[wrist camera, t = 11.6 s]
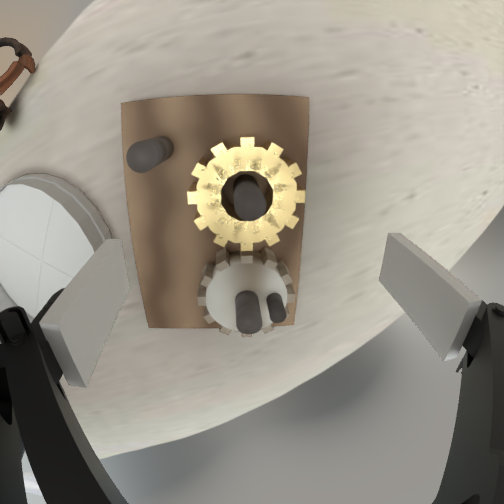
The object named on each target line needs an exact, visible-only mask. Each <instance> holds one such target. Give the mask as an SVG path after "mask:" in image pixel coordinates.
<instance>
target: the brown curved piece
mask: <svg viewBox="0 0 504 504" xmlns="http://www.w3.org/2000/svg"><path fill="white" fill-rule="evenodd" d="M2 46H11V47H13V48H14V49H15V55H16V56H18V57H19V61H15V62H13V63H12V64H11V66H10V67H9V69H8V70H7V71H6V72H5V73H4V74H3V75H2V76H1V77H0V95H2V94H3V93H4V92H5V91H6V90H7V88H9V87H10V86H11V85H12V84H13V82H14V81H15V80H16V79H17V78H18V76H19V75H20V74H21V73H22V71H23V69H24V68H26V69H28V70H29V72H30V73H34V70H35V62H34V59H33V58H32V57H31V56H32V53H31V52H30V51H29V49H28V48H27V47H26V46H24V45H23V44H21V43H19V42H18V41H17V40H16V39H13V38H6V37H5V38H1V39H0V47H2ZM11 111H12V109H11V108H8V107H6V106H5V104H4V102H3V101H2V100H0V131H1V129H2V127H3V125H4V122H5V119H6V117H7V116H8V115H9V114H10V112H11Z"/></svg>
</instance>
